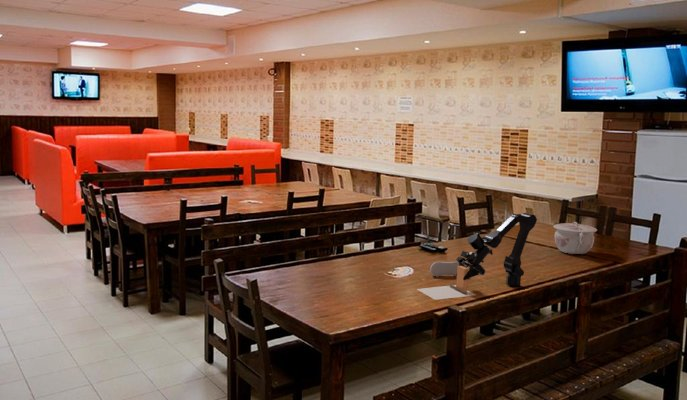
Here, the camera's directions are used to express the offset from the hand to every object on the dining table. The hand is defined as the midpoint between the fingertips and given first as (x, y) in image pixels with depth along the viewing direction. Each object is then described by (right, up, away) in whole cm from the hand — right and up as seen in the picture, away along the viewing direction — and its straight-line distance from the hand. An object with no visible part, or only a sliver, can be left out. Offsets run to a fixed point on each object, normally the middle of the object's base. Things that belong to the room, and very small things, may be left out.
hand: (460, 278), depth 307 cm
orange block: (+1, -6, +2) cm, 7 cm away
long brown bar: (-1, -7, +1) cm, 7 cm away
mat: (-7, -7, -2) cm, 11 cm away
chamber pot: (+93, +5, +94) cm, 132 cm away
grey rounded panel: (-2, -3, +28) cm, 29 cm away
